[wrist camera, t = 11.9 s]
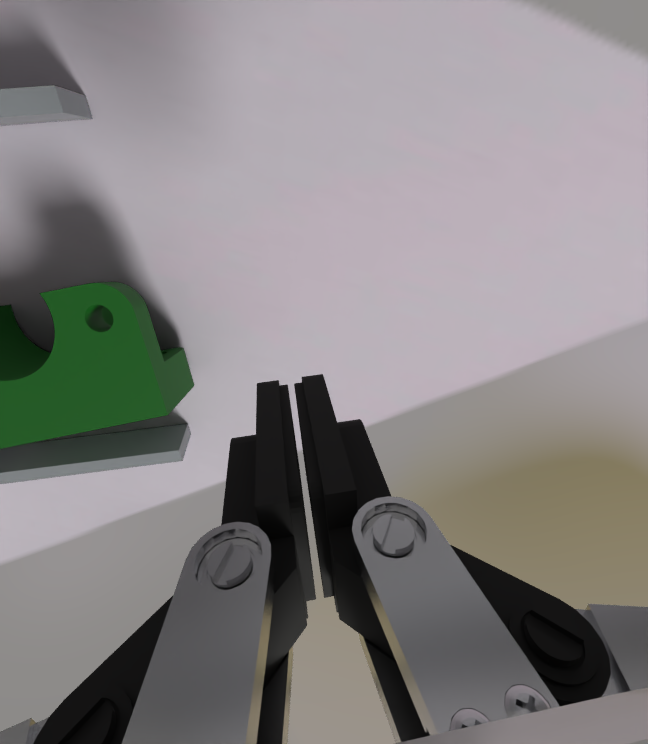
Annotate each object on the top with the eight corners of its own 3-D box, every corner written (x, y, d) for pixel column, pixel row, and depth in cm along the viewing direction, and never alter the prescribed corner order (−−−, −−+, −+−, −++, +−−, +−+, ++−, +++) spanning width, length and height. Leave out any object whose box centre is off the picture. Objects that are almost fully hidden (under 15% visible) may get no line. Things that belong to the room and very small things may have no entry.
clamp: (156, 279, 24) (169, 268, 16) (183, 370, 25) (208, 402, 17) (-95, 325, 19) (-258, 342, 11) (-42, 433, 21) (-150, 516, 13)
